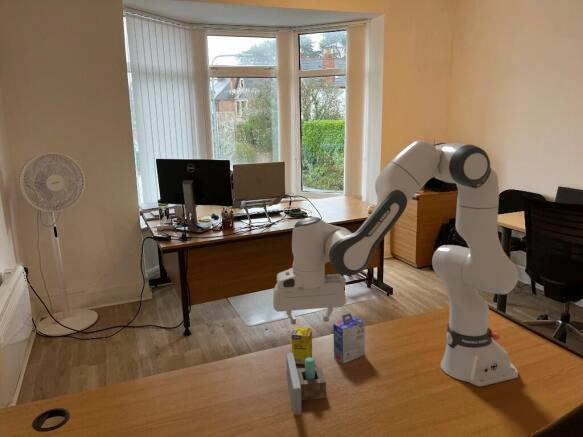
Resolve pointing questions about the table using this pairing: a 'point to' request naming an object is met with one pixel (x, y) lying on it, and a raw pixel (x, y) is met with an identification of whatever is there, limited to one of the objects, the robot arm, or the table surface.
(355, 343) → the ink cartridge box
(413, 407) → the table surface
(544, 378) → the table surface
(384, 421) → the table surface
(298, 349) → the supplement box
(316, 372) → the block
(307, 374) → the dowel
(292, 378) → the wall
